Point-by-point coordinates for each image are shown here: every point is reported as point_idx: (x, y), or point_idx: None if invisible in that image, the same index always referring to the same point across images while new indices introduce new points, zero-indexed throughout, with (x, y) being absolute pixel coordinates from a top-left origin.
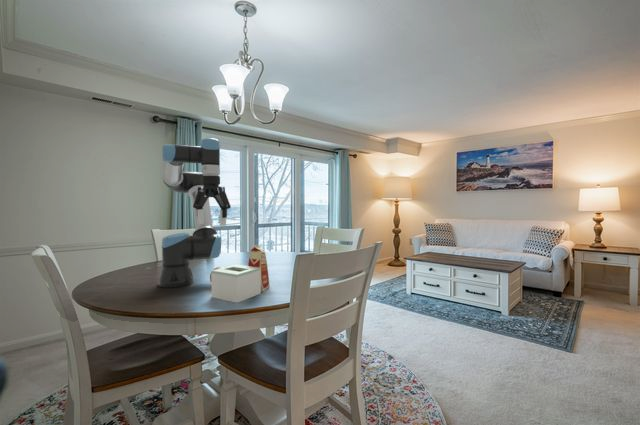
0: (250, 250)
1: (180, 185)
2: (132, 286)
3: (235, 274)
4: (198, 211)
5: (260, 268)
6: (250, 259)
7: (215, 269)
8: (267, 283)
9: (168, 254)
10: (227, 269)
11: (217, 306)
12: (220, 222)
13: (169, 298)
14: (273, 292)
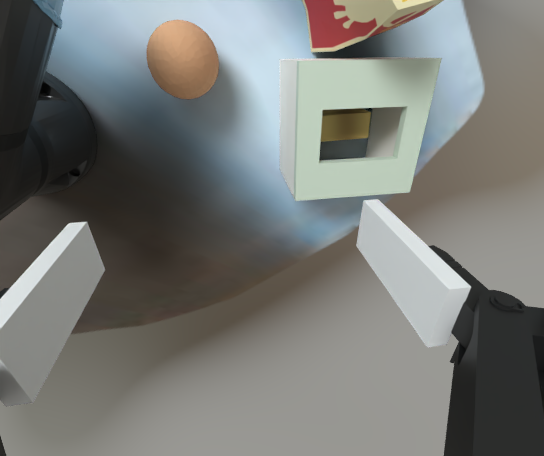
0: (400, 9)
1: None
2: None
3: (403, 192)
4: (42, 377)
5: (439, 59)
6: (382, 26)
7: (184, 82)
8: None
9: None
10: (319, 142)
11: (343, 205)
12: (372, 260)
13: (193, 231)
14: (421, 19)
